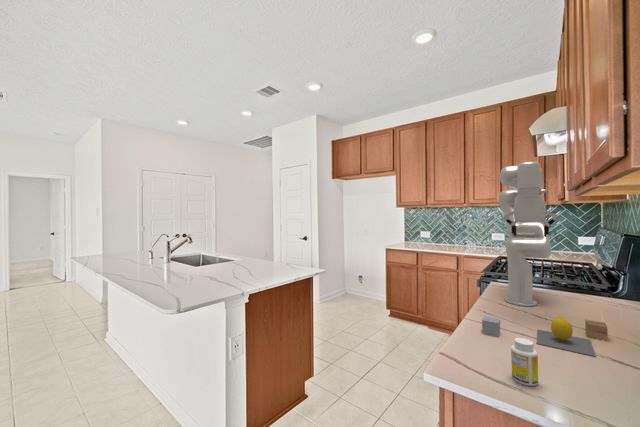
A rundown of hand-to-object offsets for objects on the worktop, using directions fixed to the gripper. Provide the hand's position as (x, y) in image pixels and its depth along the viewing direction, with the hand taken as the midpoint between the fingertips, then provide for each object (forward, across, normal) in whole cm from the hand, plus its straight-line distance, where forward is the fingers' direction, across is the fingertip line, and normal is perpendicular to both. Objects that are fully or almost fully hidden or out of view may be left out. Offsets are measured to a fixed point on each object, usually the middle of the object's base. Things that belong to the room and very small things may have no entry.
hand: (529, 236), depth 110 cm
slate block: (+34, +11, +21) cm, 42 cm away
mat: (+34, -9, +15) cm, 39 cm away
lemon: (+34, -8, +15) cm, 38 cm away
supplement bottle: (+34, 0, +49) cm, 60 cm away
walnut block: (+34, -18, +3) cm, 39 cm away
